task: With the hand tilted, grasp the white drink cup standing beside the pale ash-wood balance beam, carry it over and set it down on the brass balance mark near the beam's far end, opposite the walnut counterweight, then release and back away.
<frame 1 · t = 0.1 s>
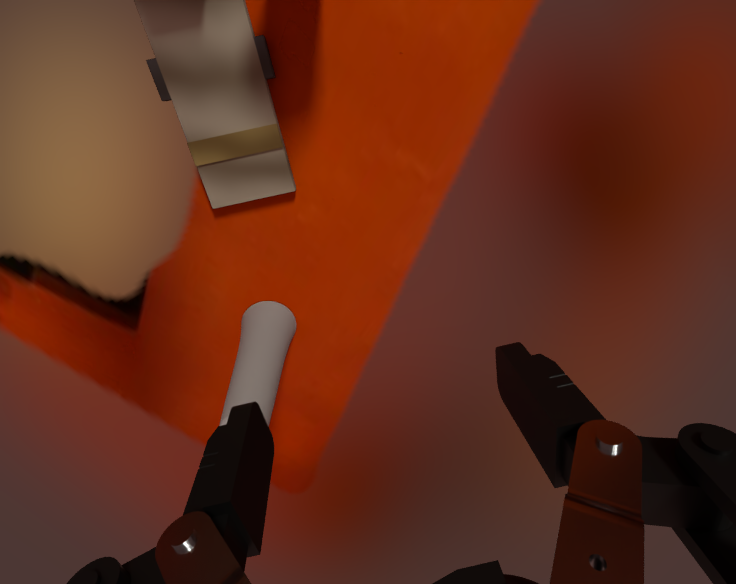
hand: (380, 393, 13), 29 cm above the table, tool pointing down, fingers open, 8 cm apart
cosmetic bottle: (269, 323, 45), on the table
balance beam: (215, 69, 33), on the table
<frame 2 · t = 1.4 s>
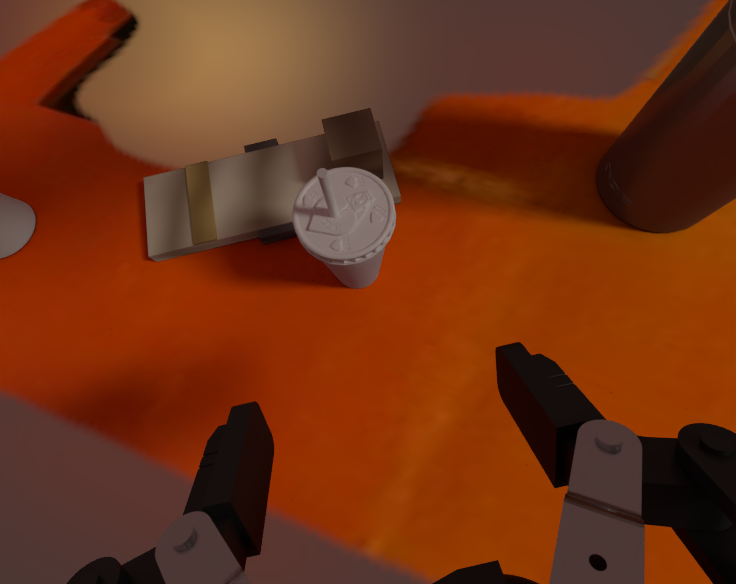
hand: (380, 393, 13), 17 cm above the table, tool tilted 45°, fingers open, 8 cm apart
cosmetic bottle: (7, 230, 37), on the table
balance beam: (271, 193, 36), on the table
white drink cup: (358, 268, 33), on the table
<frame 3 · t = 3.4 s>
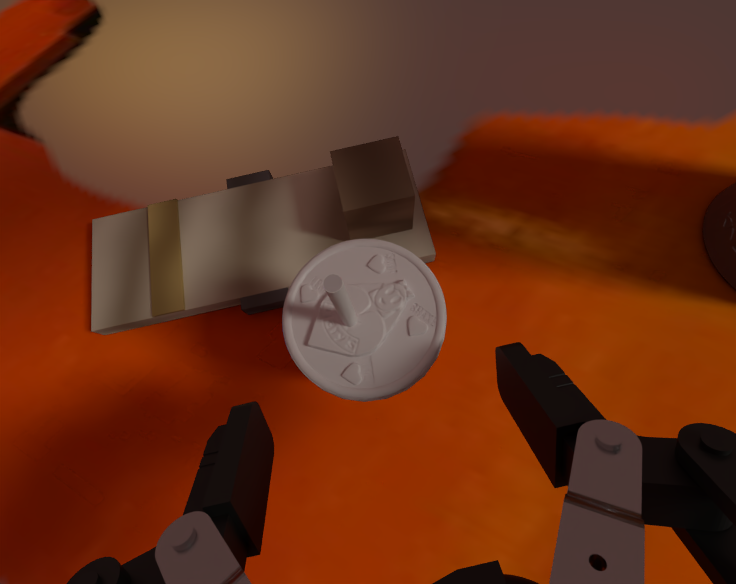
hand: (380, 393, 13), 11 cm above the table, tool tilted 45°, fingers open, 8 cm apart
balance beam: (261, 243, 27), on the table
white drink cup: (375, 353, 24), on the table
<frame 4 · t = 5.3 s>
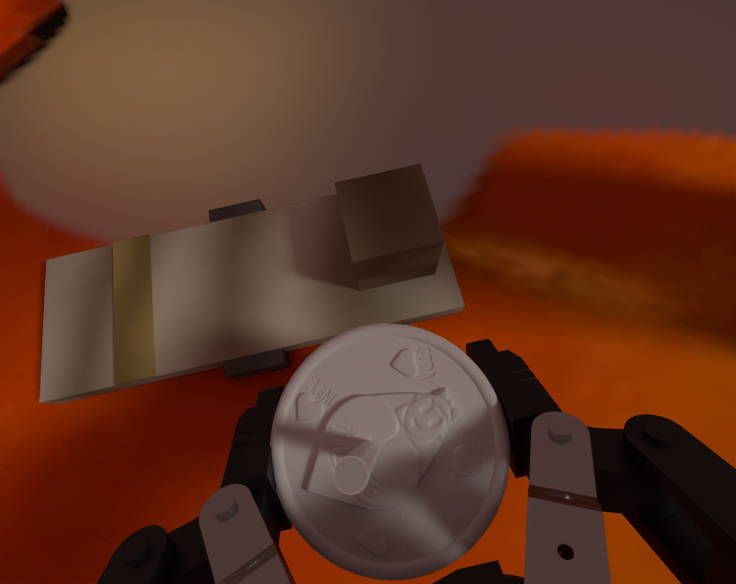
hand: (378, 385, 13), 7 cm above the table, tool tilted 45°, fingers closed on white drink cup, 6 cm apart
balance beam: (251, 288, 22), on the table
white drink cup: (391, 429, 20), on the table, touching gripper
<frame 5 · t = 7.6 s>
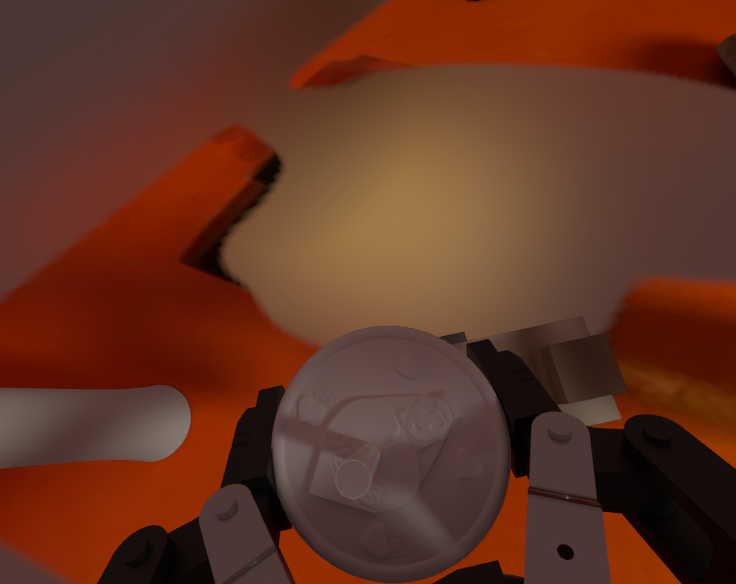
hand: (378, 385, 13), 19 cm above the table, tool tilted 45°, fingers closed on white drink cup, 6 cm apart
cosmetic bottle: (157, 422, 33), on the table
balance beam: (459, 395, 32), on the table
white drink cup: (392, 430, 20), point 12 cm above the table, touching gripper
when the fingers open (9 cm above the table, at t = 10.2 s): white drink cup stays where it is, resting on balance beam.
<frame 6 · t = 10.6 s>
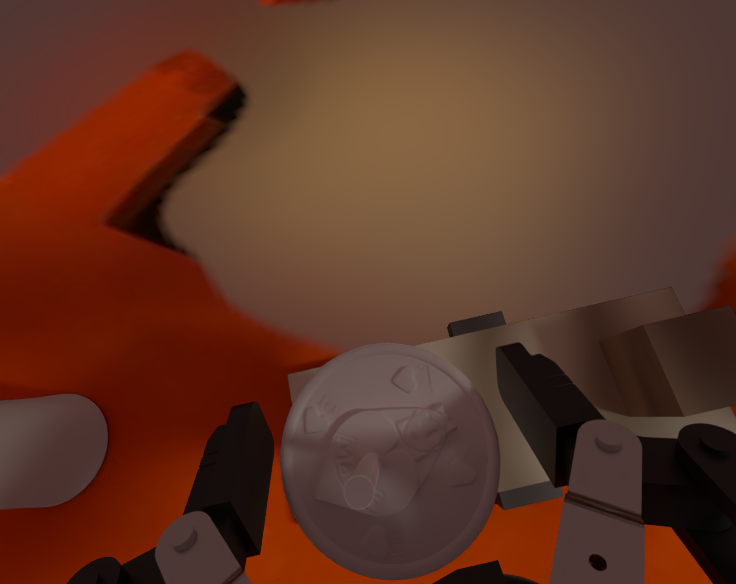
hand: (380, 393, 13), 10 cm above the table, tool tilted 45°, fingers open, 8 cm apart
cosmetic bottle: (61, 447, 23), on the table
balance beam: (497, 404, 22), on the table
white drink cup: (390, 433, 21), point 1 cm above the table, touching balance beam
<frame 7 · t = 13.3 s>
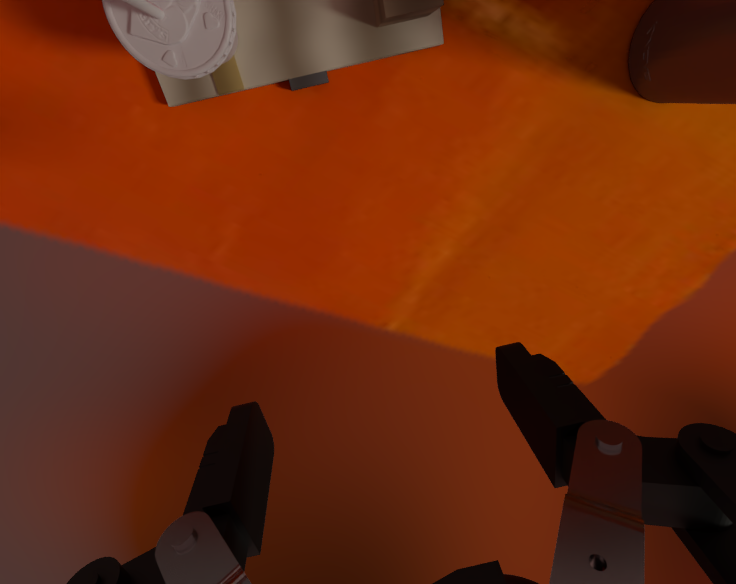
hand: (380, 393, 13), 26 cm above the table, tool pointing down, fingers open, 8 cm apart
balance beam: (293, 16, 30), on the table
white drink cup: (212, 35, 29), point 1 cm above the table, touching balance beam
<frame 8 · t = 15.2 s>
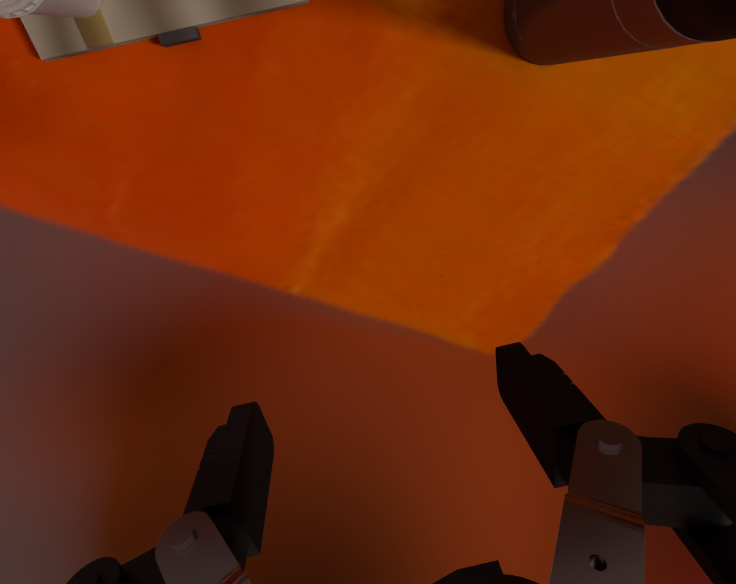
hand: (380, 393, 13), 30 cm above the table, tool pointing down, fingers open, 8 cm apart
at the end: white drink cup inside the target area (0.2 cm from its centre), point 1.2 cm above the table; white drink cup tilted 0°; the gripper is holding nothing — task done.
